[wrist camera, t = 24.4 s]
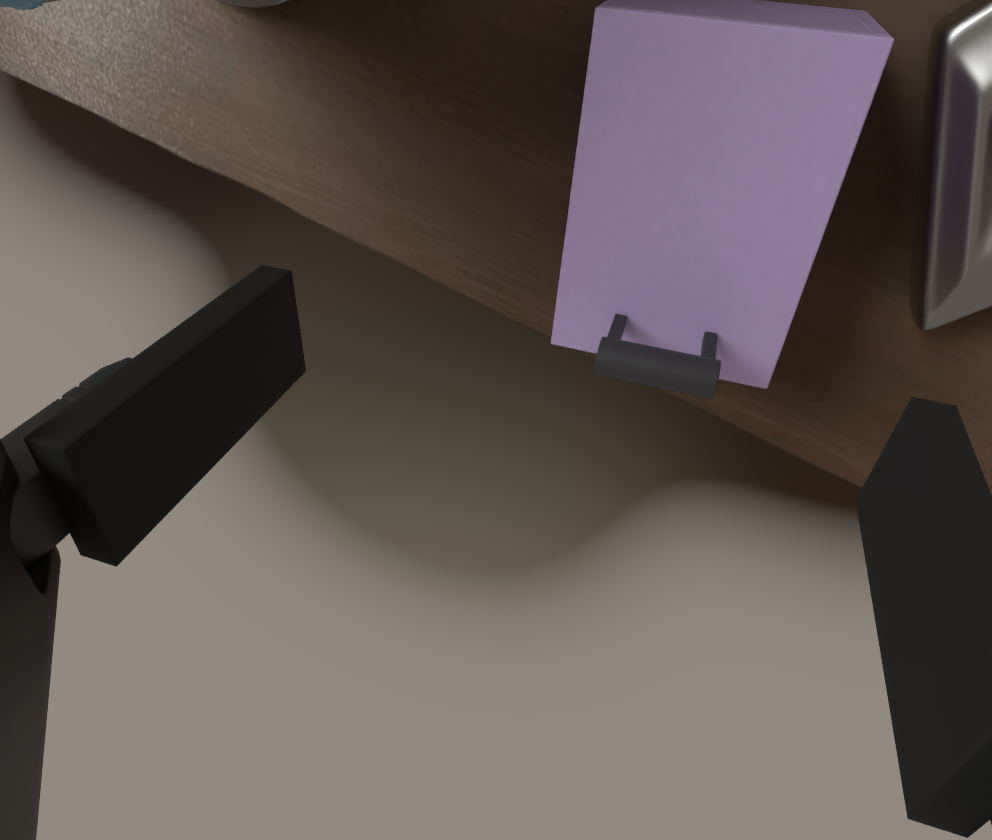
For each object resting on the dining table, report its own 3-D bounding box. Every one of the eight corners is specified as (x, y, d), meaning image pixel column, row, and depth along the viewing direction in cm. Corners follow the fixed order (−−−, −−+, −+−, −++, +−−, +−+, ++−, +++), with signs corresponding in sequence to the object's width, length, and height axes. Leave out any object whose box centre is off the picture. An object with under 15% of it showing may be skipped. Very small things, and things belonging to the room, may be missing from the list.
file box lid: (766, 382, 39) (769, 446, 34) (553, 338, 41) (526, 391, 36) (892, 36, 28) (922, 54, 24) (598, 5, 31) (569, 16, 26)
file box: (769, 296, 45) (771, 363, 39) (585, 262, 48) (557, 320, 41) (866, 10, 35) (892, 35, 28) (626, -13, 38) (598, 4, 31)
